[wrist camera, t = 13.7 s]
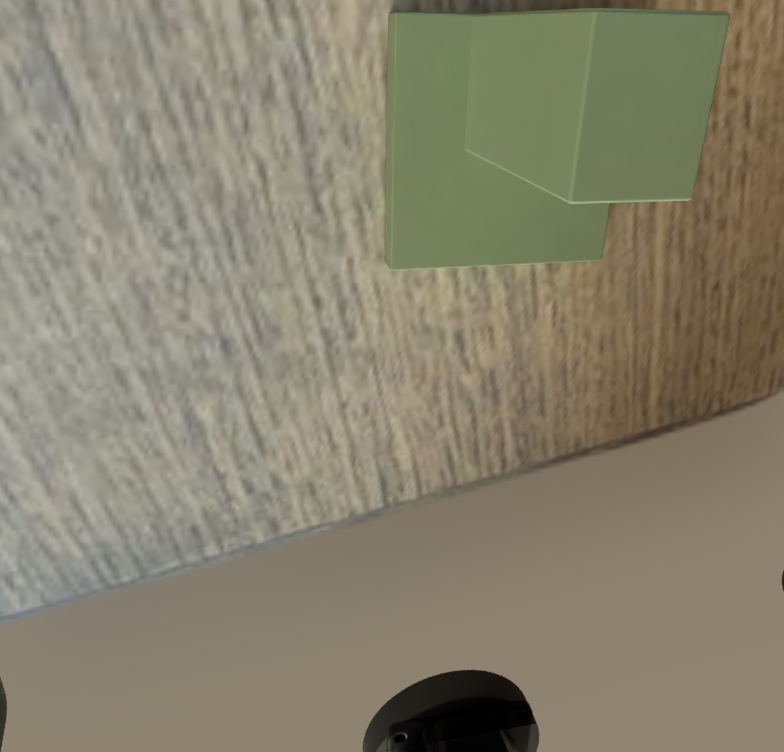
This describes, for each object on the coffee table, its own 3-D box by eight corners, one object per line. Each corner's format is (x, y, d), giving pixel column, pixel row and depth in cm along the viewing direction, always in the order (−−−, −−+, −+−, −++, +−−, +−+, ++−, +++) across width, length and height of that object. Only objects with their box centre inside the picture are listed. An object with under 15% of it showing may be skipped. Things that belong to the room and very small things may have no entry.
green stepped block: (588, 253, 20) (741, 348, 14) (384, 262, 19) (457, 370, 13) (623, 18, 17) (829, 14, 12) (388, 12, 16) (482, 3, 10)
